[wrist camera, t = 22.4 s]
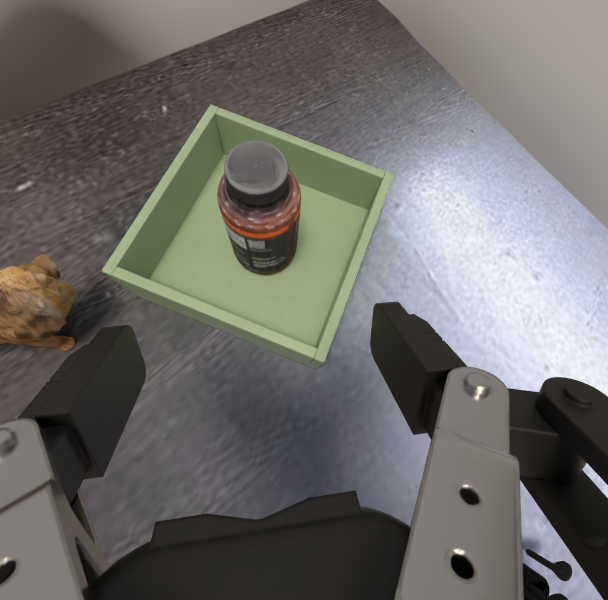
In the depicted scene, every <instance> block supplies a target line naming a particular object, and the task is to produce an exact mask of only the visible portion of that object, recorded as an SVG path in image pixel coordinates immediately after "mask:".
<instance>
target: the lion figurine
mask: <svg viewBox="0 0 608 600" xmlns="http://www.w3.org/2000/svg"><path fill="white" fill-rule="evenodd" d="M60 276H61V274H60V272H59V271H58V265H57V264H56V263H55V262H54V261H53V260H51V259H50V258H49V257H48V256H46V255H40V256H38V257H37V258H36V259H35V260H34V261H33V262H31V263H30V264H23V265H20V266H18V267H16V266H9V267H7V268H6V269H0V344H3V343H7V342H8V343H13V344H27V345H32V346H43V347H54V348H57V349H60V350H63V351H69V350H71V349H72V348H73V347H74V345H75V341H74V338H73V337H66V336H63V335H60V336H53V333H54V332H57V331H59V330H61V327H62V326H63V325H64V324H66V323H67V321H66V317H67V314H68V313H69V311H70V310H71V307H72V303H73V302H74V297H75V293H74V289H73V288H72V285H71V284H66V283H64V282H61V281H59V278H60Z"/></svg>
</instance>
